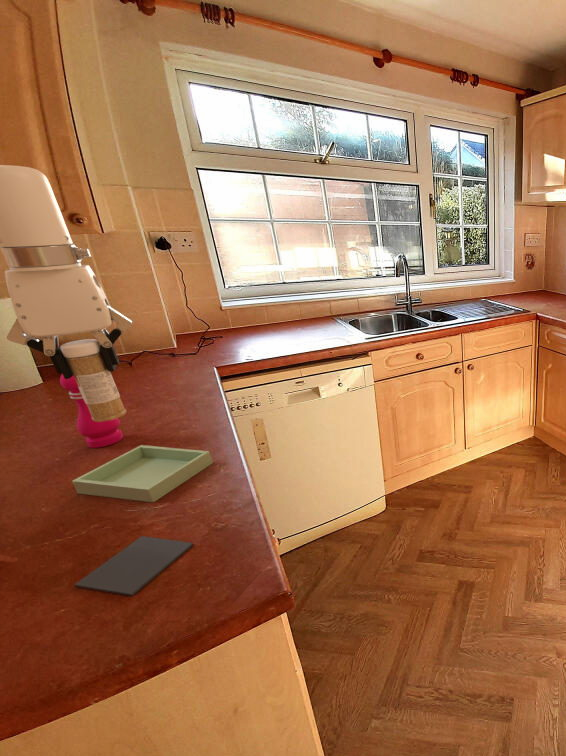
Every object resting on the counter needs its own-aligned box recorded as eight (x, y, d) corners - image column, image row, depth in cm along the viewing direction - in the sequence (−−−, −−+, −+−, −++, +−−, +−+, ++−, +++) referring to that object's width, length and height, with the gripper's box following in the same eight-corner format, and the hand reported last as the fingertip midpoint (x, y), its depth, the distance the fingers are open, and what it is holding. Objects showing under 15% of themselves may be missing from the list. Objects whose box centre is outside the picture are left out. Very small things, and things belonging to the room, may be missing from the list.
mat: (75, 586, 61) (74, 584, 61) (142, 537, 70) (141, 536, 70) (132, 596, 59) (131, 594, 59) (193, 544, 68) (193, 542, 68)
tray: (77, 493, 82) (71, 480, 81) (145, 456, 94) (141, 444, 93) (153, 502, 79) (148, 489, 78) (213, 462, 91) (209, 451, 90)
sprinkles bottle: (100, 413, 74) (69, 340, 69) (132, 409, 76) (103, 337, 70) (86, 425, 70) (52, 347, 65) (120, 420, 72) (89, 344, 66)
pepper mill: (81, 443, 100) (45, 364, 92) (120, 431, 105) (88, 355, 98) (90, 452, 96) (52, 370, 89) (130, 439, 102) (98, 360, 94)
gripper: (120, 253, 70) (157, 357, 77) (-32, 261, 61) (25, 378, 68) (115, 256, 65) (155, 368, 71) (-54, 265, 55) (10, 392, 62)
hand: (91, 371), depth 70 cm, fingers closed on sprinkles bottle, 4 cm apart
